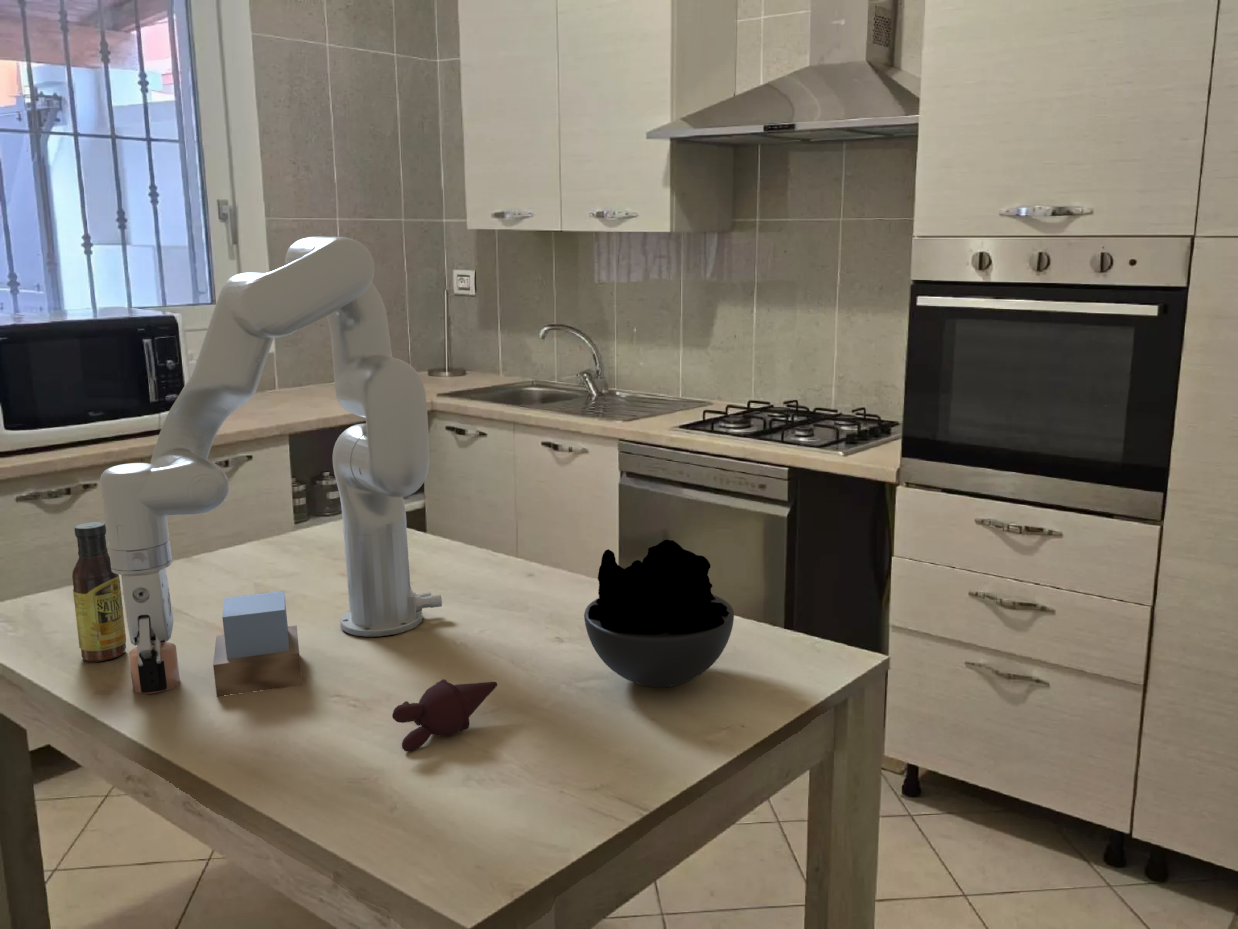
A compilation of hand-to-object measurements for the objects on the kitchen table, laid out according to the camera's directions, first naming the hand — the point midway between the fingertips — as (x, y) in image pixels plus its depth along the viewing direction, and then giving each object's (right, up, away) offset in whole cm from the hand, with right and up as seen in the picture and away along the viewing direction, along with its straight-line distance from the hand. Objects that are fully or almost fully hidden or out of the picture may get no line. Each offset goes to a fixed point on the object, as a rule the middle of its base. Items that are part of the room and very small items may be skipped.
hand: (156, 679), depth 149 cm
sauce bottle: (-12, +1, +11) cm, 16 cm away
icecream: (+43, -4, -15) cm, 46 cm away
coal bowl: (+69, 0, -2) cm, 69 cm away
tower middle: (+14, +5, +1) cm, 15 cm away
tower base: (+13, 0, +3) cm, 14 cm away
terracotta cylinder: (0, -1, 0) cm, 1 cm away
